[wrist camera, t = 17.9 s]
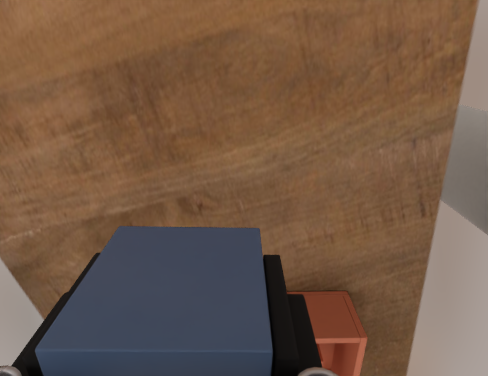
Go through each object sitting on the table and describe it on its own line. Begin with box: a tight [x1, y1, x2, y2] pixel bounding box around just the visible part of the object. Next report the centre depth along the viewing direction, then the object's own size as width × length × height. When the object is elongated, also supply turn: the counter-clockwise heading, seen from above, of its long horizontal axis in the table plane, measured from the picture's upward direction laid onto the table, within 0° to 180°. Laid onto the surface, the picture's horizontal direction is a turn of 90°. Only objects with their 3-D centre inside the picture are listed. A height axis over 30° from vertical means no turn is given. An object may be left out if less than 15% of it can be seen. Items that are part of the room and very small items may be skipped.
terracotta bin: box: [287, 291, 368, 376], centre depth 30 cm, size 11×11×6 cm
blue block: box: [35, 226, 273, 376], centre depth 9 cm, size 5×5×5 cm
